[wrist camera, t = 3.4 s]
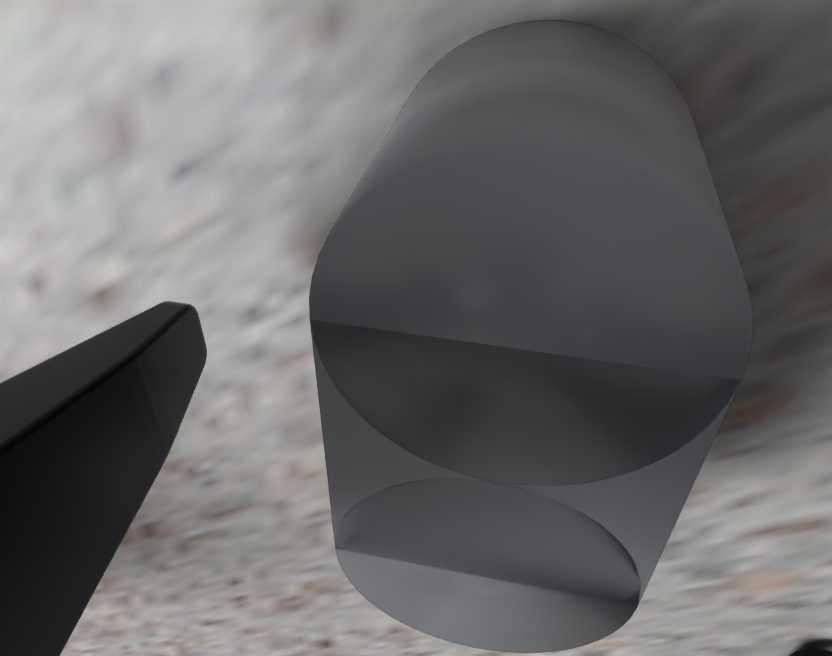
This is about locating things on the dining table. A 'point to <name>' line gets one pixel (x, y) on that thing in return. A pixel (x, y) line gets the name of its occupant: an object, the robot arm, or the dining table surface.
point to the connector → (525, 340)
